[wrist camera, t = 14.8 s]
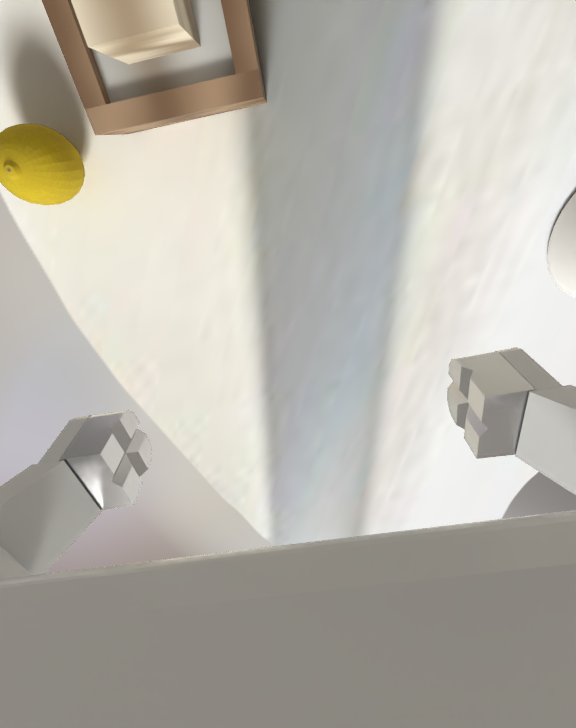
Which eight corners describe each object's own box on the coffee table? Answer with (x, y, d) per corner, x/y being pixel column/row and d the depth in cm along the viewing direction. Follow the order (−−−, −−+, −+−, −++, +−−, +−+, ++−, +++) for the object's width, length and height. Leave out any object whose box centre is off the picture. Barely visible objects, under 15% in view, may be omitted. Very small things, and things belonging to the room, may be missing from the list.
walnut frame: (226, -124, 23) (210, -198, 18) (266, 102, 30) (263, 96, 24) (52, -75, 24) (-11, -132, 19) (127, 134, 31) (95, 135, 26)
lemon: (106, 146, 31) (57, 150, 24) (92, 208, 34) (45, 227, 27) (37, 110, 30) (-35, 104, 23) (28, 177, 32) (-38, 189, 26)
